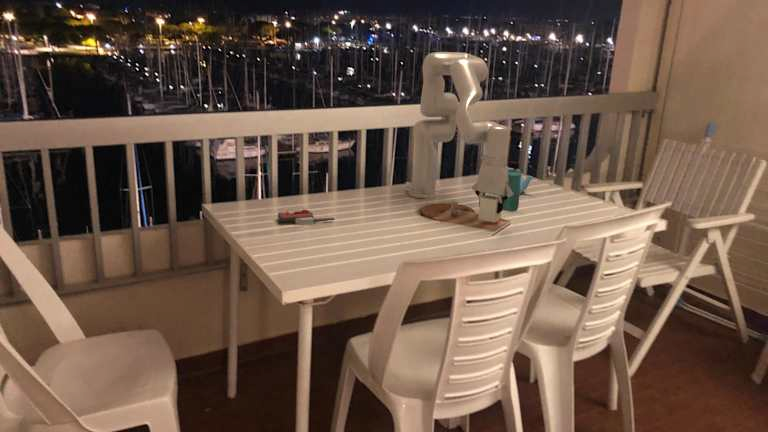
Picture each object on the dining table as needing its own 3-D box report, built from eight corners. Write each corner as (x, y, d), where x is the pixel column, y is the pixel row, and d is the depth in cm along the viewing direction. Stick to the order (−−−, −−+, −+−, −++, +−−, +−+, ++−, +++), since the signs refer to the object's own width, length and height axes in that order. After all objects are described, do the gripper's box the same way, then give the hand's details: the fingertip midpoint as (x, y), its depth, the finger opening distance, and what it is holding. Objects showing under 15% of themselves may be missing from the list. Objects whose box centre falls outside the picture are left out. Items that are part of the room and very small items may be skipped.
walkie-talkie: (279, 227, 208) (335, 223, 214) (278, 215, 206) (335, 211, 213) (274, 220, 216) (328, 216, 222) (274, 208, 214) (328, 204, 221)
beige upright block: (478, 219, 214) (480, 197, 212) (485, 215, 219) (487, 193, 217) (494, 222, 211) (496, 200, 209) (500, 218, 216) (502, 196, 214)
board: (431, 221, 219) (432, 204, 217) (451, 211, 232) (452, 195, 230) (493, 235, 207) (494, 217, 205) (510, 224, 220) (512, 207, 218)
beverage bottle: (517, 215, 231) (523, 164, 225) (500, 214, 232) (505, 163, 226) (517, 210, 237) (523, 160, 231) (500, 209, 238) (505, 159, 232)
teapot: (485, 187, 270) (487, 163, 267) (517, 186, 273) (519, 163, 270) (498, 196, 256) (500, 171, 253) (531, 196, 259) (533, 171, 256)
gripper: (467, 159, 210) (463, 208, 216) (514, 166, 201) (509, 218, 207) (476, 155, 216) (472, 204, 222) (522, 163, 207) (517, 213, 213)
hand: (490, 210), depth 214 cm, fingers closed on beige upright block, 5 cm apart
